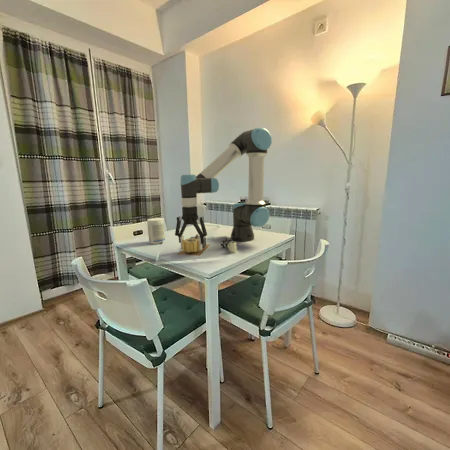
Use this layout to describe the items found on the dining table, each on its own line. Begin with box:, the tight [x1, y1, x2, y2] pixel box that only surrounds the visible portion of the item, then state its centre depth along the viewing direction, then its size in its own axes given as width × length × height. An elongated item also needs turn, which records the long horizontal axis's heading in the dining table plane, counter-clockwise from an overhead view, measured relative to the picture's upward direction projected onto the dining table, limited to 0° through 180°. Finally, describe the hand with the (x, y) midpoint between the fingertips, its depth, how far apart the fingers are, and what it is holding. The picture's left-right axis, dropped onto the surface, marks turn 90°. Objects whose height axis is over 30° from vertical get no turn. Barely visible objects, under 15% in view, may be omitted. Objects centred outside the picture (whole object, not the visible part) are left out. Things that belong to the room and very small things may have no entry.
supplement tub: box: [146, 217, 166, 245], centre depth 155 cm, size 10×10×15 cm
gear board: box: [177, 233, 211, 257], centre depth 135 cm, size 12×20×8 cm, turn 168°
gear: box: [189, 236, 207, 248], centre depth 139 cm, size 9×9×5 cm
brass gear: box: [182, 237, 199, 252], centre depth 130 cm, size 9×9×5 cm
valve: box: [220, 237, 238, 254], centre depth 132 cm, size 7×7×12 cm
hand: (191, 249), depth 130 cm, fingers closed on brass gear, 9 cm apart
